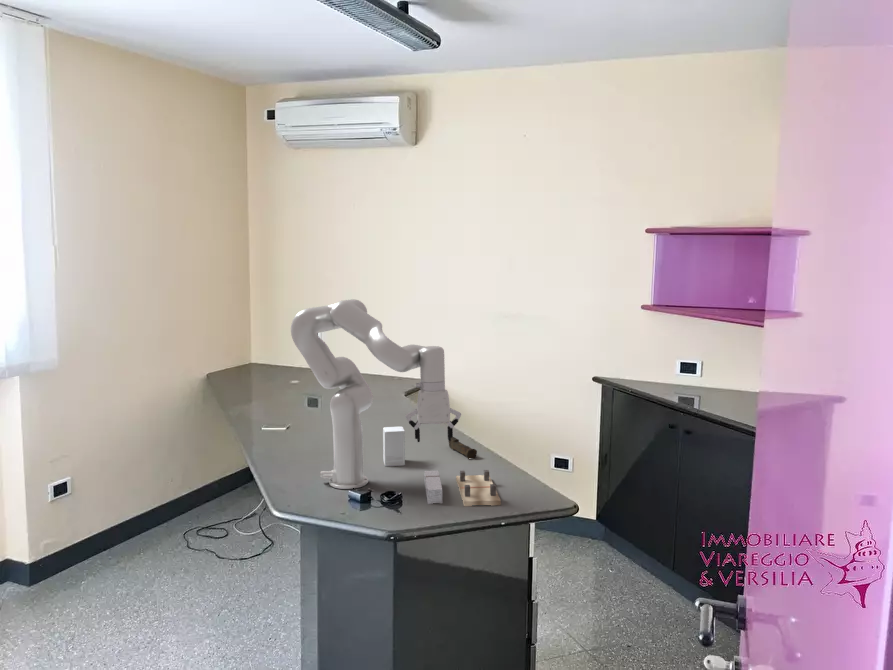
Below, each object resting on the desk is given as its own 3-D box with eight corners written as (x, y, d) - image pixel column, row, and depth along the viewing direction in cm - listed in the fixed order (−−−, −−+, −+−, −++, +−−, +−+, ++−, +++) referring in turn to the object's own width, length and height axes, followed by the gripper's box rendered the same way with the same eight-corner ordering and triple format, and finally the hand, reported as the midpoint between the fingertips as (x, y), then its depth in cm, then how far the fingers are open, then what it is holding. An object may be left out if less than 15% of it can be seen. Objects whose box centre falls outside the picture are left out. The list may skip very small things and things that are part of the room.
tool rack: (464, 506, 201) (464, 491, 201) (456, 480, 225) (456, 467, 225) (500, 505, 202) (500, 490, 202) (488, 479, 226) (489, 466, 225)
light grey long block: (427, 504, 203) (427, 489, 203) (424, 484, 221) (424, 470, 221) (442, 503, 204) (442, 489, 203) (438, 483, 222) (438, 470, 221)
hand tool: (477, 459, 250) (477, 446, 249) (467, 460, 248) (467, 448, 248) (455, 446, 267) (455, 434, 266) (446, 447, 265) (446, 435, 265)
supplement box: (405, 465, 241) (405, 431, 240) (384, 466, 240) (384, 431, 238) (403, 459, 248) (402, 425, 247) (383, 460, 247) (382, 426, 246)
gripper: (405, 389, 204) (406, 444, 206) (461, 387, 206) (462, 442, 208) (404, 385, 212) (405, 438, 214) (459, 383, 213) (460, 436, 215)
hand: (433, 440), depth 211 cm, fingers open, 9 cm apart
